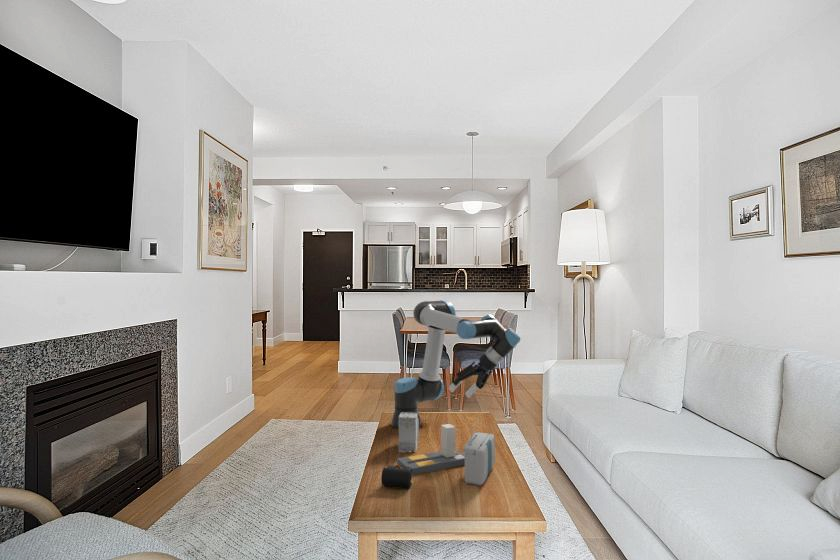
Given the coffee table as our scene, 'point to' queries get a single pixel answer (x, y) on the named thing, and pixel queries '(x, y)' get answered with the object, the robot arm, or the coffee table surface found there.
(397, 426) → the robot arm
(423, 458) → the grey flat board
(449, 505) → the coffee table surface
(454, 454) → the slider tab
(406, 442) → the circuit breaker
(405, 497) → the coffee table surface
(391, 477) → the end cap
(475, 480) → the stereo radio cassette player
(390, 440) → the coffee table surface
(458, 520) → the coffee table surface
